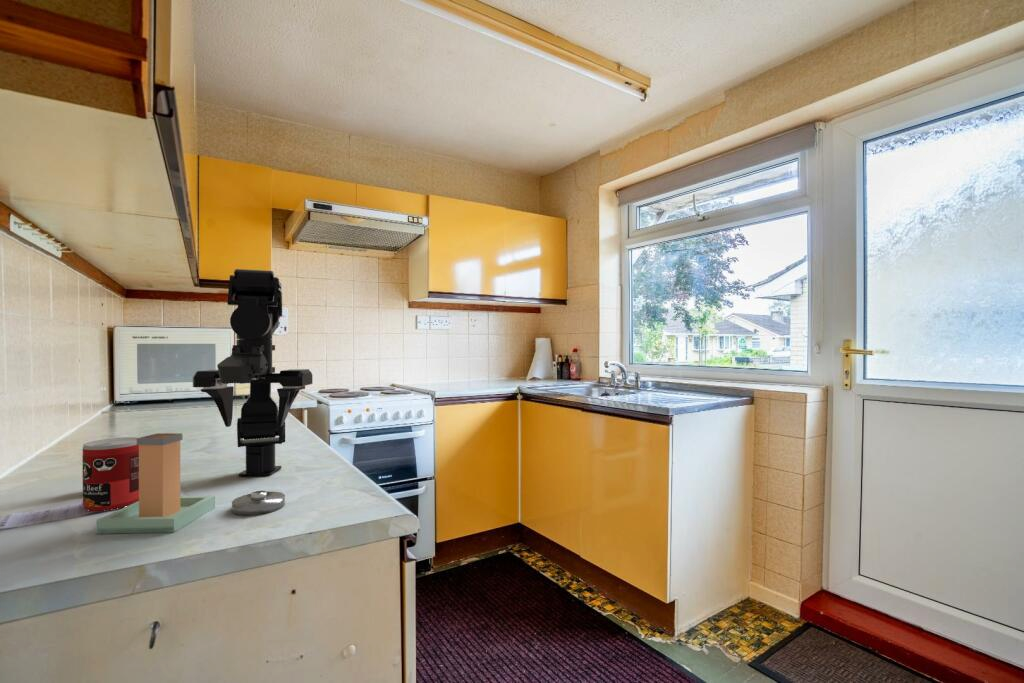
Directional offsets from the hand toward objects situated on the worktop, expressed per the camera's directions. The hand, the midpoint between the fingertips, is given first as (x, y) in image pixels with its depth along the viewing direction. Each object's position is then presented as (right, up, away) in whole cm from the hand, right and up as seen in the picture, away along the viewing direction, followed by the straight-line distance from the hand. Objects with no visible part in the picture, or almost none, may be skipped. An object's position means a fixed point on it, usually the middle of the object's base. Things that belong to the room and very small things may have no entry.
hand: (254, 426), depth 88 cm
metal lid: (+3, -13, -5) cm, 14 cm away
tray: (-10, -13, -10) cm, 19 cm away
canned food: (-23, -13, -3) cm, 27 cm away
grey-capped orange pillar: (-9, -12, -11) cm, 19 cm away
